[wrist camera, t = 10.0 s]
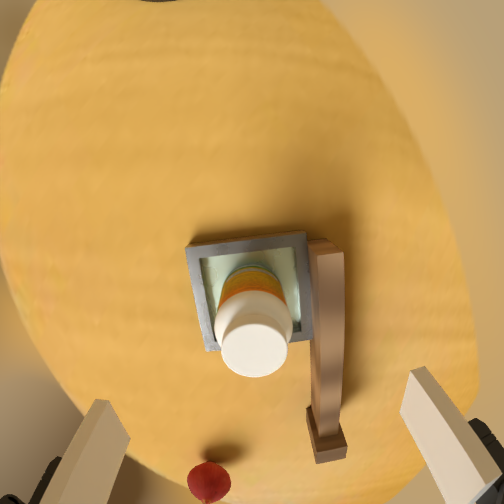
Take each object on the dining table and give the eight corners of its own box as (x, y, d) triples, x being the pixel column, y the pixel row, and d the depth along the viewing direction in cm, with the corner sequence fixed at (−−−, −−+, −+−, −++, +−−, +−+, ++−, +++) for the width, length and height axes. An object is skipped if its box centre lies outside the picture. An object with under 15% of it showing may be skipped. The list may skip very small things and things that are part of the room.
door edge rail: (297, 241, 25) (315, 264, 18) (332, 237, 25) (361, 258, 18) (306, 421, 30) (316, 464, 24) (332, 416, 30) (345, 458, 24)
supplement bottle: (212, 275, 25) (193, 329, 16) (270, 254, 25) (283, 298, 16) (235, 326, 27) (230, 395, 17) (290, 307, 26) (310, 370, 17)
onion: (238, 468, 33) (237, 511, 25) (203, 473, 33) (198, 514, 26) (220, 448, 32) (216, 495, 24) (183, 454, 32) (174, 498, 24)
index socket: (188, 244, 25) (184, 247, 24) (302, 229, 25) (306, 233, 23) (207, 343, 27) (206, 351, 26) (309, 331, 27) (312, 339, 26)
